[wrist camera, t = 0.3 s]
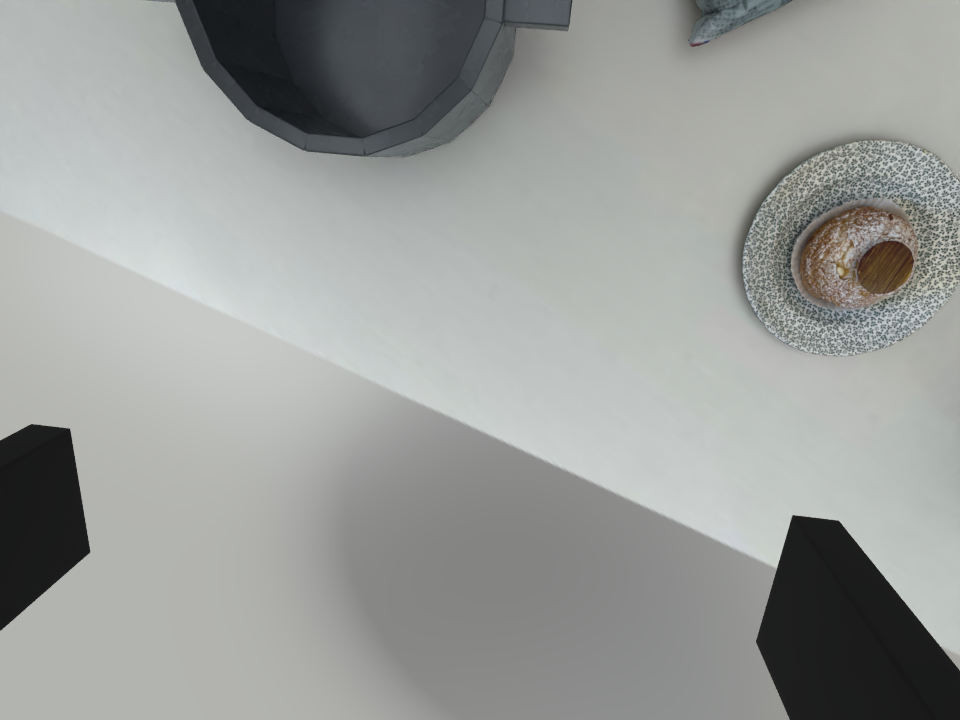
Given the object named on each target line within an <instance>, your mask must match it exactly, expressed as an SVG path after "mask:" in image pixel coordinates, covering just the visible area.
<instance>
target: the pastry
mask: <svg viewBox="0 0 960 720" xmlns="http://www.w3.org/2000/svg"><path fill="white" fill-rule="evenodd" d="M742 275H743V281H744V287H745V291H746V294H747V298H748V300H749V302H750V304H751V306H752V309H753V311H754V312H755V314H756V316H757V317H758V319H759V320H760V321H761V322H762V323H763V324H764V325H765V327H766V328H767V329H768V330H769V331H770V332H771V333H772V334H773V335H774V336H776V337H777V338H778V339H779V340H781V341H782V342H784V343H786V344H787V345H789V346H791V347H794V348H796V349H798V350H801V351H804V352H808V353H812V354H818V355H828V356H830V355H832V356H852V355H857V354H862V353H866V352H871V351H875V350H879V349H882V348H885V347H888V346H890V345H892V344H895V343H896V342H899V341H901V340H903V339H904V338H906V337H908V336H910V335H911V334H913V333H914V332H915V331H917V330H918V329H919V328H921V327H922V326H923V325H924V324H926V323H927V322H928V321H929V320H930V319H931V318H932V317H933V315H934V314H935V313H936V312H937V311H938V310H939V309H940V308H941V307H942V306H943V305H944V304H945V303H946V302H947V301H948V299H949V298H950V297H951V295H952V293H953V292H954V290H955V289H956V286H957V284H958V283H959V281H960V181H959V179H958V178H957V177H956V176H955V175H954V173H953V172H952V171H951V169H950V168H949V167H948V166H947V164H946V163H945V162H943V161H942V160H941V159H940V158H938V157H937V156H935V155H934V154H932V153H930V152H929V151H927V150H925V149H923V148H921V147H918V146H915V145H912V144H909V143H905V142H899V141H891V140H889V141H887V140H862V141H856V142H852V143H848V144H845V145H842V146H837V147H834V148H831V149H829V150H826V151H824V152H822V153H819V154H817V155H815V156H813V157H811V158H809V159H808V160H806V161H805V162H803V163H801V164H800V165H799V166H797V167H796V168H795V169H794V170H792V171H791V172H790V173H789V174H787V175H786V176H785V177H784V178H783V179H782V180H781V181H780V182H779V183H778V184H777V185H776V187H775V188H774V189H773V190H772V192H771V193H770V194H769V195H768V196H767V198H766V199H765V200H764V202H763V203H762V205H761V206H760V208H759V210H758V211H757V213H756V216H755V218H754V220H753V222H752V225H751V228H750V230H749V233H748V235H747V237H746V241H745V244H744V252H743V259H742Z"/></svg>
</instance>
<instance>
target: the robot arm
mask: <svg viewBox="0 0 960 720" xmlns="http://www.w3.org/2000/svg"><path fill="white" fill-rule="evenodd" d="M89 553H90V547H89V541H88V535H87V529H86V523H85V517H84V511H83V505H82V499H81V492H80V487H79V481H78V474H77V468H76V462H75V456H74V450H73V444H72V438H71V432H70V429H67V428H59V427H50V426H42V425H34V424H31V425H29V426H27V427H25V428H23V429H21V430H19V431H18V432H16V433H14V434H12V435H10V436H8V437H6V438H4V439H2V440H0V630H2V629H3V628H4V627H5V626H6V625H8V624H9V623H10V622H11V621H12V620H13V619H14V618H16V617H17V616H18V615H19V614H20V613H21V612H22V611H23V610H25V609H26V608H27V607H28V606H29V605H30V604H32V603H33V602H34V601H35V600H36V599H37V598H38V597H39V596H41V594H43V593H44V592H45V591H46V590H48V589H49V588H50V587H51V586H52V585H53V584H54V583H56V582H57V581H58V580H59V579H60V578H61V577H62V576H64V574H66V573H67V572H68V571H69V570H70V569H72V568H73V567H74V566H75V565H76V564H77V563H78V562H79V561H81V560H82V559H83V558H84V557H85V556H86V555H88V554H89ZM756 643H757V645H758V647H759V650H760V652H761V654H762V656H763V659H764V661H765V663H766V666H767V668H768V670H769V673H770V674H771V677H772V680H773V682H774V684H775V686H776V689H777V691H778V693H779V696H780V698H781V700H782V702H783V705H784V707H785V709H786V712H787V714H788V716H789V719H790V720H960V671H959V669H958V668H957V667H956V665H955V664H954V663H953V662H952V660H951V659H950V658H949V657H948V656H947V655H946V653H945V652H944V651H943V649H942V648H941V647H940V646H939V644H938V643H937V642H936V641H935V639H934V638H933V637H932V636H931V634H930V633H929V632H928V631H927V630H926V628H925V627H924V626H923V625H922V623H921V622H920V621H919V620H918V618H917V617H916V616H915V615H914V613H913V612H912V611H911V610H910V608H909V607H908V606H907V605H906V603H905V602H904V601H903V600H902V599H901V597H900V596H899V595H898V594H897V592H896V591H895V590H894V589H893V587H892V586H891V585H890V584H889V582H888V581H887V580H886V579H885V577H884V576H883V575H882V574H881V572H880V571H879V570H878V569H877V568H876V566H875V565H874V564H873V563H872V561H871V560H870V559H869V558H868V556H867V555H866V554H865V553H864V551H863V550H862V549H861V548H860V546H859V545H858V544H857V543H856V541H855V540H854V539H853V538H852V537H851V535H850V534H849V533H848V532H847V530H846V529H845V528H844V527H843V525H842V524H841V523H840V522H839V521H836V520H828V519H820V518H811V517H803V516H795V515H793V516H792V519H791V523H790V526H789V529H788V533H787V536H786V540H785V543H784V547H783V550H782V554H781V557H780V561H779V564H778V568H777V571H776V574H775V578H774V581H773V585H772V588H771V592H770V595H769V599H768V602H767V606H766V609H765V613H764V616H763V619H762V623H761V626H760V630H759V633H758V637H757V640H756Z"/></svg>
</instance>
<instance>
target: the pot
mask: <svg viewBox="0 0 960 720" xmlns="http://www.w3.org/2000/svg"><path fill="white" fill-rule="evenodd" d="M148 1H162V2H175V3H176V5H177V7H178V10H179V12H180V15H181V17H182V19H183V22H184V24H185V27H186V29H187V32H188V34H189V36H190V39H191V41H192V44H193V46H194V49H195V51H196V54H197V56H198V58H199V61H200V63H201V66H202V67H203V69H204V71H205V72H206V73H207V74H208V75H209V77H210V78H211V79H212V80H213V81H214V82H215V83H216V85H217V86H218V87H219V88H220V89H221V90H222V91H223V93H224V94H225V95H226V96H227V97H228V98H229V99H230V101H231V102H232V103H233V104H234V105H235V106H236V107H237V109H238V110H239V111H240V112H241V113H242V114H243V115H244V117H245V118H246V119H247V120H249V121H250V122H251V123H253V124H255V125H257V126H259V127H261V128H262V129H264V130H266V131H268V132H270V133H272V134H274V135H276V136H277V137H279V138H281V139H283V140H285V141H287V142H289V143H290V144H292V145H294V146H296V147H298V148H300V149H302V150H305V151H308V152H319V153H330V154H342V155H353V156H367V157H406V156H410V155H413V154H416V153H419V152H422V151H426V150H429V149H432V148H434V147H437V146H439V145H442V144H445V143H448V142H450V141H452V140H453V139H454V138H455V137H457V136H458V135H459V134H460V133H461V132H462V131H464V130H465V129H466V128H467V127H469V126H470V125H471V124H472V123H473V122H474V121H475V120H476V119H477V118H478V117H479V116H480V115H481V114H482V113H483V112H484V111H485V110H486V109H487V108H488V106H490V104H491V101H492V99H493V97H494V95H495V94H496V92H497V90H498V88H499V86H500V85H501V83H502V80H503V78H504V75H505V73H506V70H507V68H508V66H509V64H510V62H511V60H512V56H513V49H514V39H515V32H516V27H518V28H531V29H545V30H559V31H568V29H569V24H570V15H571V7H572V0H148Z"/></svg>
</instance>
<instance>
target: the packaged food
mask: <svg viewBox="0 0 960 720" xmlns="http://www.w3.org/2000/svg"><path fill="white" fill-rule="evenodd" d="M790 1H792V0H696V4H697V6H698V7H699V8H701V11H702V17H701V18H700V19H698V20H697V21H696V23H695V25H694V27H693V29H694V30H693V29H692V35H691V37H690V38H689V40H688V41H689V42H690V45H691V46H692V47H694V46H699V45H702V44H704V43H707V42H709V41H710V40H712V39H714V38H717V37H718V36H720V35H722V34H725V33H727V32H729V31H731V30H733V29H735V28H737V27H739V26H741V25H743V24H745V23H747V22H749V21H751V20H754V19H756V18H758V17H760V16H762V15H765V14H767V13H769V12H771V11H774V10H776V9H778V8H780V7H781V6H783V5H785V4H787V3H788V2H790Z"/></svg>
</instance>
